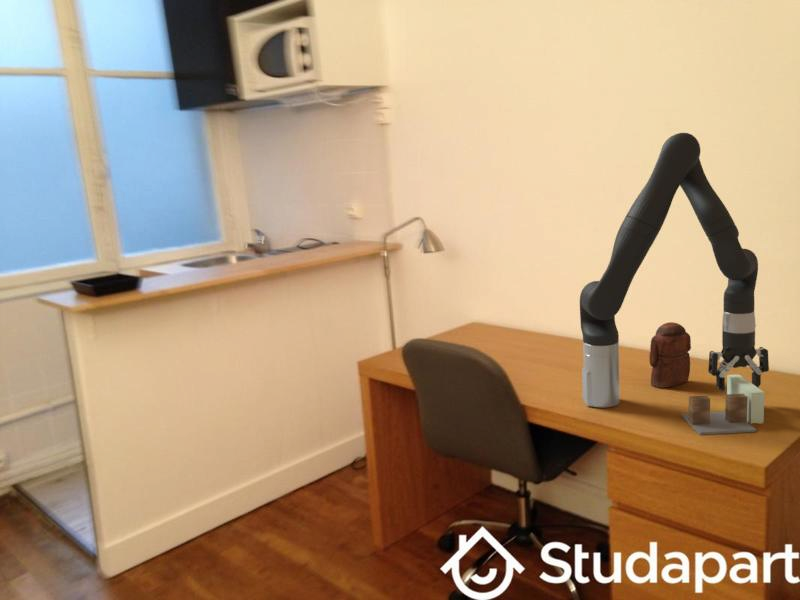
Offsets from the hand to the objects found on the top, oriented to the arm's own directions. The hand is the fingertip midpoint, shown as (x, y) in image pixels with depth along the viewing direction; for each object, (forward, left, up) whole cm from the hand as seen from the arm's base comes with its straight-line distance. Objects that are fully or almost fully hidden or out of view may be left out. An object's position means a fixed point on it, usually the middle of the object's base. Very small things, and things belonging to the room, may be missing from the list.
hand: (738, 388), depth 179 cm
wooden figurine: (-11, +20, -5) cm, 23 cm away
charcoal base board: (-9, -11, -5) cm, 15 cm away
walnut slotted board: (-9, -11, -5) cm, 15 cm away
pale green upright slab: (0, -5, -5) cm, 7 cm away
